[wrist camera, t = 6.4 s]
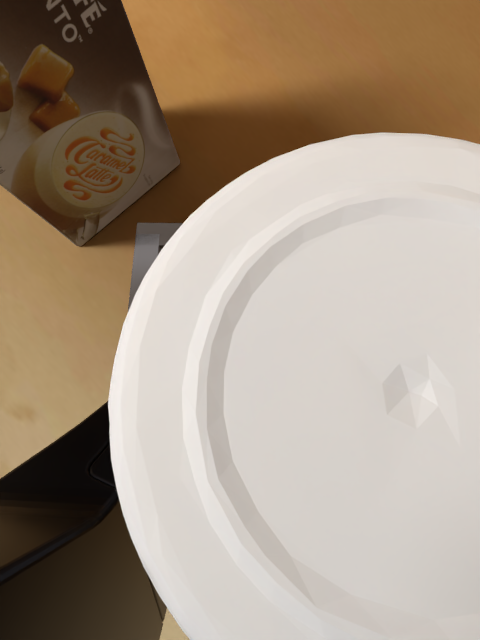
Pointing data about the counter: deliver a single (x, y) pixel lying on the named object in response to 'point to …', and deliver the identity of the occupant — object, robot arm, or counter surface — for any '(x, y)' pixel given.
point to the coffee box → (77, 113)
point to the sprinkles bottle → (312, 399)
